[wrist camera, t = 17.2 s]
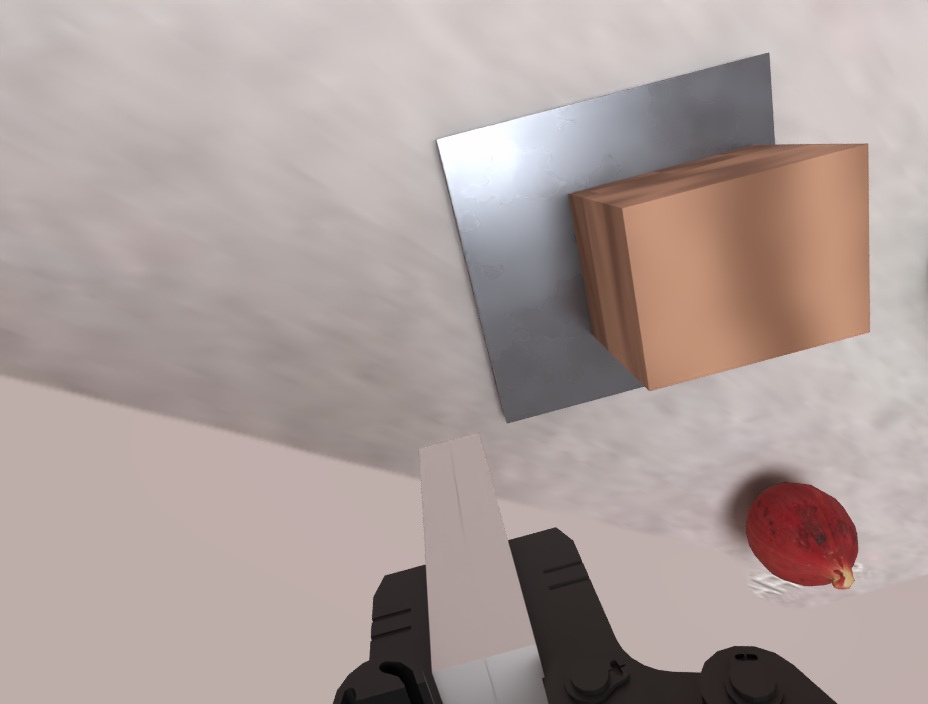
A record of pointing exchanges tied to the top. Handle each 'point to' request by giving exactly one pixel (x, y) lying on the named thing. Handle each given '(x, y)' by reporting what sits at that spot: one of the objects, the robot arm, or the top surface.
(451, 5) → the top surface
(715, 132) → the boss plate
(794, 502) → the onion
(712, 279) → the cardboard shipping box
